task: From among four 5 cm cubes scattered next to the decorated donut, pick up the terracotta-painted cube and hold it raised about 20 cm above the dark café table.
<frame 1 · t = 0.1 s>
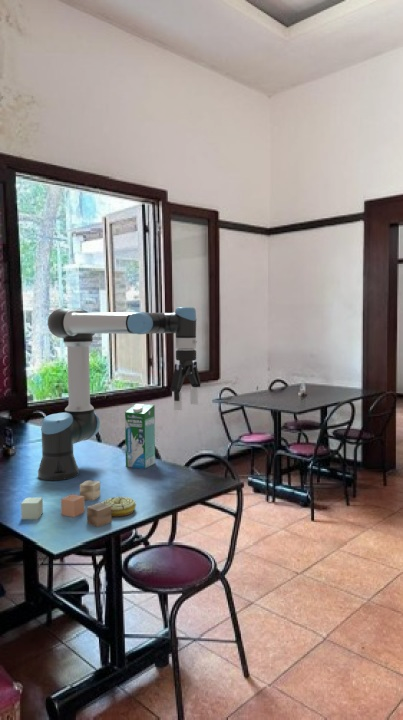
hand: (186, 407, 189), 28 cm above the table, fingers open, 13 cm apart
milk carton: (140, 465, 213), on the table
walnut cube: (99, 523, 152), on the table
terracotta cube: (73, 513, 160), on the table
beech cube: (90, 497, 174), on the table
decorated donut: (118, 512, 161), on the table
sage cube: (32, 516, 157), on the table
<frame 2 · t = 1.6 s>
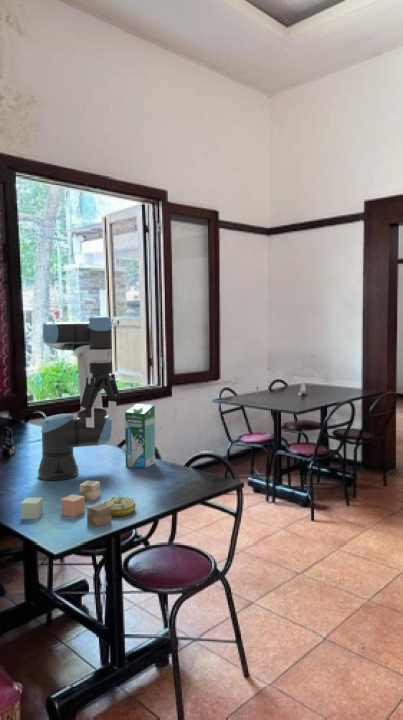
hand: (101, 423, 176), 25 cm above the table, fingers open, 13 cm apart
nothing on the table moved.
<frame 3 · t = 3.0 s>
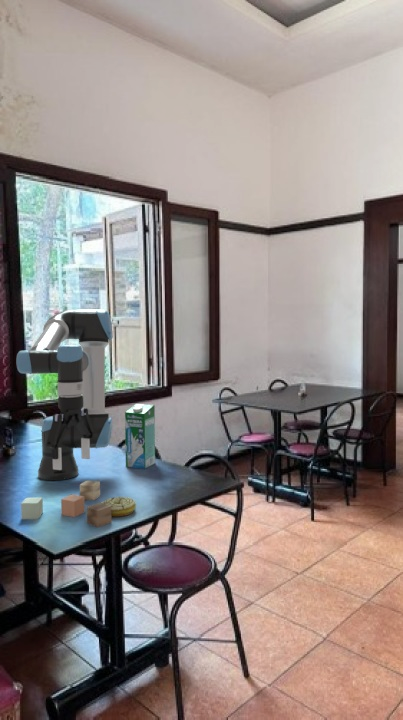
hand: (72, 463, 158), 16 cm above the table, fingers open, 13 cm apart
nothing on the table moved.
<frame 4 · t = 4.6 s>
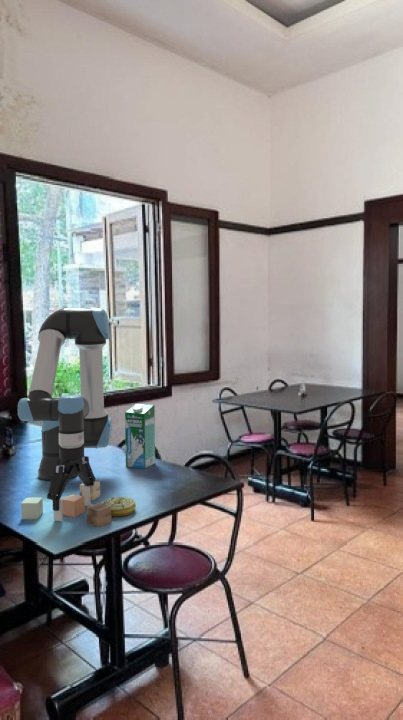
hand: (72, 513, 159), 0 cm above the table, fingers open, 13 cm apart
nothing on the table moved.
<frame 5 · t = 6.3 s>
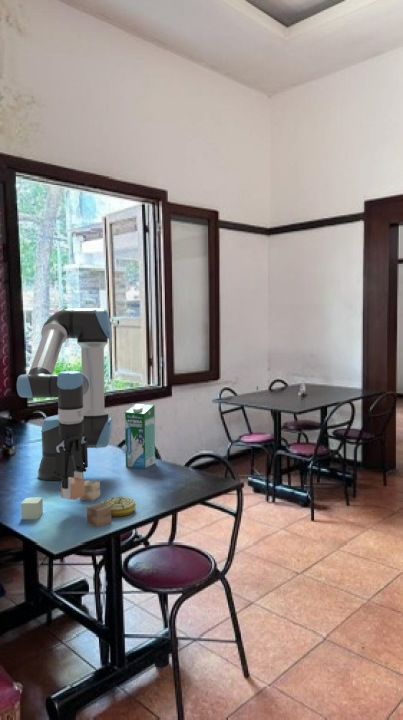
hand: (73, 494, 160), 6 cm above the table, fingers closed on terracotta cube, 5 cm apart
terracotta cube: (73, 496, 160), point 5 cm above the table, touching gripper
everything else where it was.
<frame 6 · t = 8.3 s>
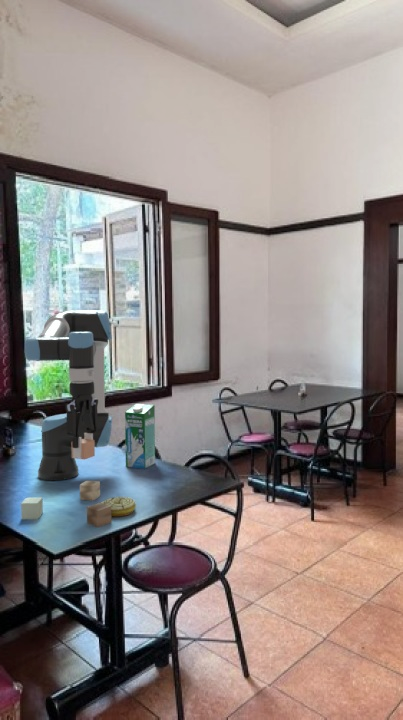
hand: (83, 455, 160), 18 cm above the table, fingers closed on terracotta cube, 5 cm apart
terracotta cube: (83, 456, 160), point 17 cm above the table, touching gripper
everything else where it was.
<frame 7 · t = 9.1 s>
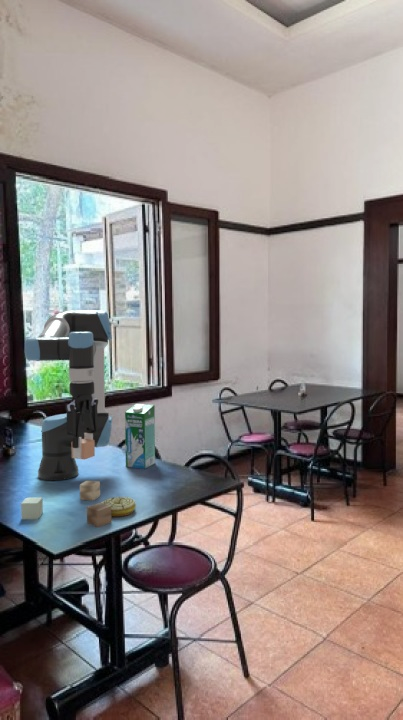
hand: (83, 455, 160), 18 cm above the table, fingers closed on terracotta cube, 5 cm apart
terracotta cube: (83, 456, 160), point 17 cm above the table, touching gripper
everything else where it was.
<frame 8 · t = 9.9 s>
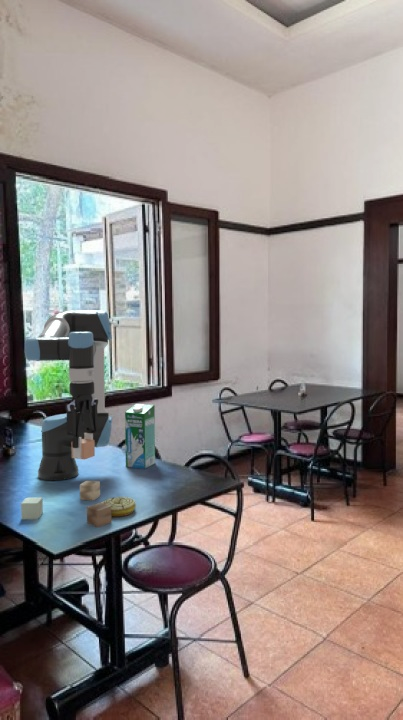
hand: (83, 455, 160), 18 cm above the table, fingers closed on terracotta cube, 5 cm apart
terracotta cube: (83, 456, 160), point 17 cm above the table, touching gripper
everything else where it was.
at the end: the gripper is holding terracotta cube; terracotta cube point 17.3 cm above the table; sage cube moved 0.1 cm from its start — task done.
